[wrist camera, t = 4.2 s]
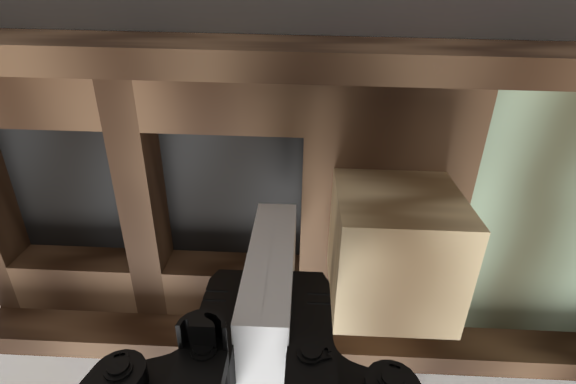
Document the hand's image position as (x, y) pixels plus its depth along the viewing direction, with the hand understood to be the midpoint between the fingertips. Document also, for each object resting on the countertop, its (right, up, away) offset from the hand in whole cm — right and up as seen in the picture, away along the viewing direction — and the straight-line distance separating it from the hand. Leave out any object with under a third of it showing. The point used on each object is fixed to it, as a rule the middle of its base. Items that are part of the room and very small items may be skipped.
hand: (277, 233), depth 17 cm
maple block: (+4, +1, +1) cm, 5 cm away
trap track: (+1, +2, +3) cm, 4 cm away
